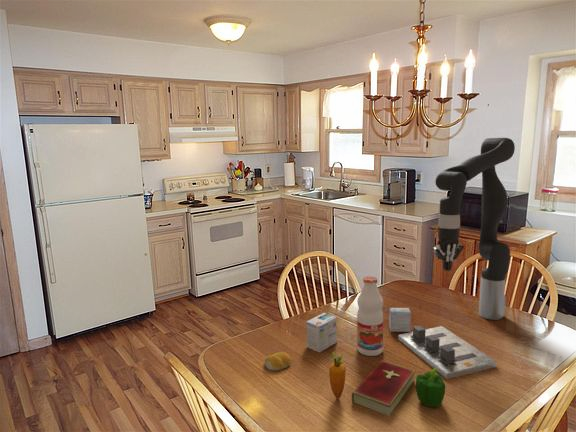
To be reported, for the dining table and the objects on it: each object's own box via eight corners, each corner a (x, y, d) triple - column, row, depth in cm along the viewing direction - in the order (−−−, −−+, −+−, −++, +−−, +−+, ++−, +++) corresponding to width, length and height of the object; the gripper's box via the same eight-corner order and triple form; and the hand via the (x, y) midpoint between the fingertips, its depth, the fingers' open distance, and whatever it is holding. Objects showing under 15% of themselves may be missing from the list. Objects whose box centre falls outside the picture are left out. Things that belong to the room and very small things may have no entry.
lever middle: (434, 344, 149) (434, 334, 148) (441, 350, 145) (441, 339, 144) (423, 347, 148) (424, 336, 147) (430, 352, 144) (431, 341, 143)
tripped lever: (448, 355, 141) (449, 344, 141) (456, 361, 138) (457, 350, 137) (437, 358, 140) (438, 346, 139) (445, 364, 136) (446, 352, 136)
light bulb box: (324, 337, 163) (324, 311, 161) (337, 342, 158) (337, 316, 156) (306, 347, 155) (305, 320, 153) (319, 353, 151) (318, 326, 149)
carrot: (328, 394, 127) (327, 350, 124) (344, 393, 127) (343, 348, 124) (331, 404, 122) (330, 358, 119) (347, 403, 122) (347, 357, 119)
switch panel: (441, 330, 164) (442, 325, 164) (496, 366, 138) (496, 361, 138) (398, 339, 159) (398, 334, 158) (446, 379, 132) (446, 373, 132)
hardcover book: (351, 403, 123) (351, 390, 122) (380, 370, 139) (380, 359, 139) (389, 418, 116) (389, 405, 115) (415, 381, 132) (415, 369, 132)
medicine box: (408, 327, 168) (408, 307, 167) (410, 332, 164) (411, 312, 162) (388, 327, 169) (389, 307, 167) (390, 332, 165) (390, 312, 163)
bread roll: (295, 365, 144) (294, 355, 143) (273, 374, 139) (273, 363, 138) (282, 355, 150) (281, 345, 150) (261, 363, 146) (260, 353, 145)
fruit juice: (379, 343, 156) (379, 273, 151) (385, 356, 147) (386, 282, 142) (354, 344, 156) (354, 274, 151) (359, 357, 147) (360, 283, 141)
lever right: (420, 335, 156) (421, 324, 156) (427, 339, 153) (427, 329, 152) (410, 337, 155) (411, 326, 154) (417, 341, 151) (417, 331, 151)
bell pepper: (429, 414, 116) (430, 383, 114) (409, 398, 123) (410, 368, 121) (451, 406, 119) (453, 375, 117) (431, 390, 127) (432, 361, 125)
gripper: (456, 222, 157) (454, 265, 160) (427, 225, 153) (426, 269, 156) (471, 225, 150) (468, 271, 153) (440, 229, 146) (438, 275, 149)
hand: (447, 270), depth 155 cm, fingers closed
